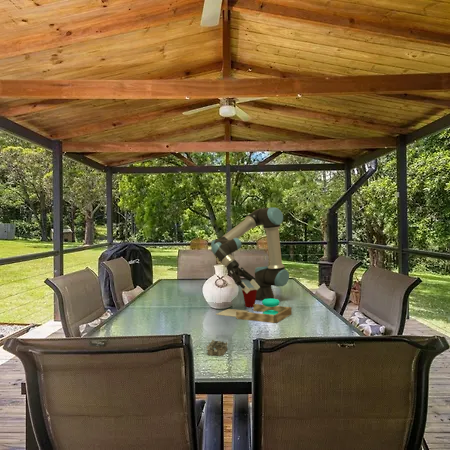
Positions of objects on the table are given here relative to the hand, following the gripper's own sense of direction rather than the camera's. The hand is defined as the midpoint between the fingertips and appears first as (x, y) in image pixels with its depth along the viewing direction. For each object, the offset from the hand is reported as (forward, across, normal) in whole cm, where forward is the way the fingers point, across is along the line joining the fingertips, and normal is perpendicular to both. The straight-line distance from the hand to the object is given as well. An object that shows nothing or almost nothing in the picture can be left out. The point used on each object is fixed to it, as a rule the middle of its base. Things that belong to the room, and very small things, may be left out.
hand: (253, 290), depth 227 cm
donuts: (+18, 0, -3) cm, 18 cm away
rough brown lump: (+21, +66, 0) cm, 70 cm away
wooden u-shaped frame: (+15, 0, -6) cm, 16 cm away
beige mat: (0, 0, -20) cm, 21 cm away
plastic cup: (+1, -22, -20) cm, 29 cm away
